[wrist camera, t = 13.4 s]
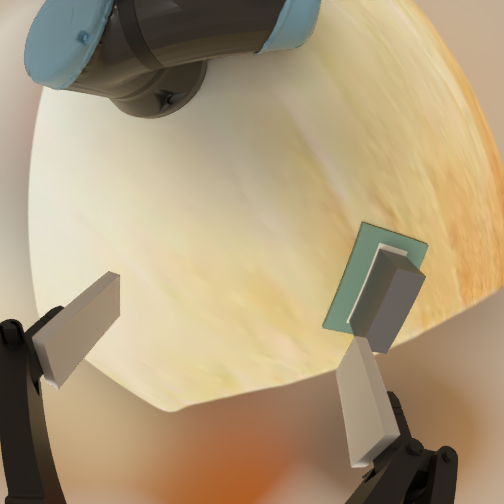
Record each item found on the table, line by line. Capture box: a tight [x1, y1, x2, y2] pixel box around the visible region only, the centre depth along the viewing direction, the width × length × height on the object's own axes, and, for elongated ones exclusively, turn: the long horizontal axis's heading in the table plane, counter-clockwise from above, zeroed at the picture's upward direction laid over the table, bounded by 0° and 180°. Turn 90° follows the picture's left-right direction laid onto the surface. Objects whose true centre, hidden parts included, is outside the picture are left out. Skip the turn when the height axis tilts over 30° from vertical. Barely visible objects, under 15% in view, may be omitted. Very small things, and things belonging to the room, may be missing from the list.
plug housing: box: [349, 248, 426, 353], centre depth 37 cm, size 13×5×7 cm, turn 167°
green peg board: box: [322, 222, 429, 334], centre depth 39 cm, size 18×12×6 cm, turn 167°
